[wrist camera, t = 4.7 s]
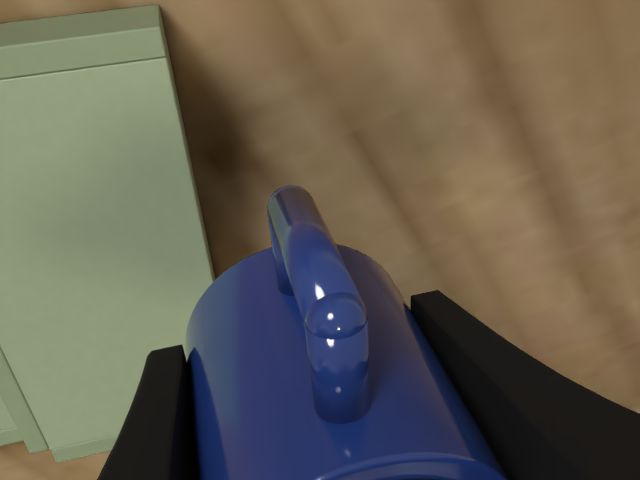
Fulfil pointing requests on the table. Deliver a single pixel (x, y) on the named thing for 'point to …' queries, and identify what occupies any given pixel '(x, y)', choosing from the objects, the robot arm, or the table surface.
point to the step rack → (90, 224)
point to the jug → (320, 369)
